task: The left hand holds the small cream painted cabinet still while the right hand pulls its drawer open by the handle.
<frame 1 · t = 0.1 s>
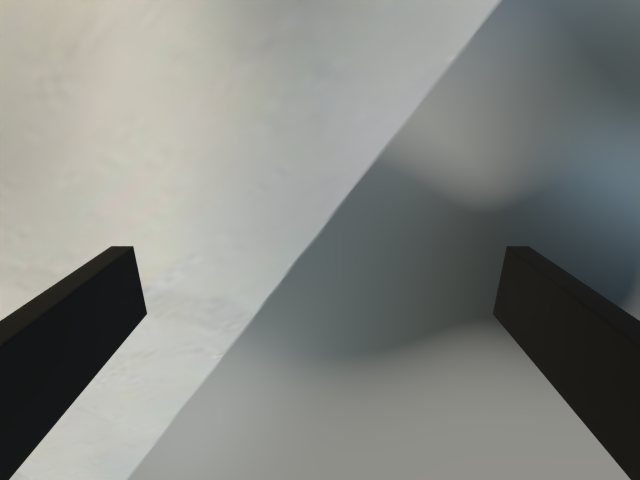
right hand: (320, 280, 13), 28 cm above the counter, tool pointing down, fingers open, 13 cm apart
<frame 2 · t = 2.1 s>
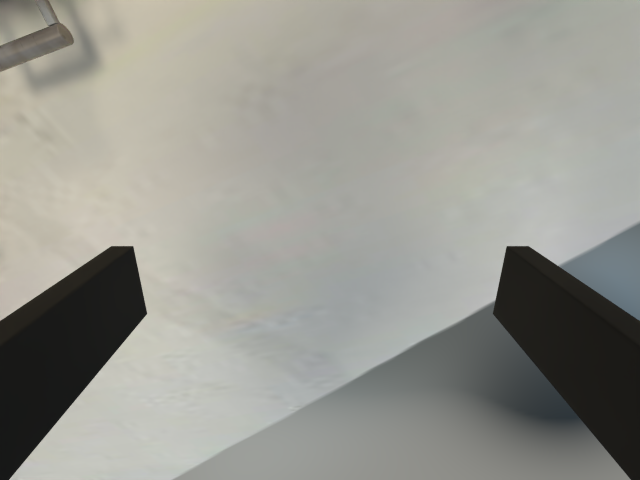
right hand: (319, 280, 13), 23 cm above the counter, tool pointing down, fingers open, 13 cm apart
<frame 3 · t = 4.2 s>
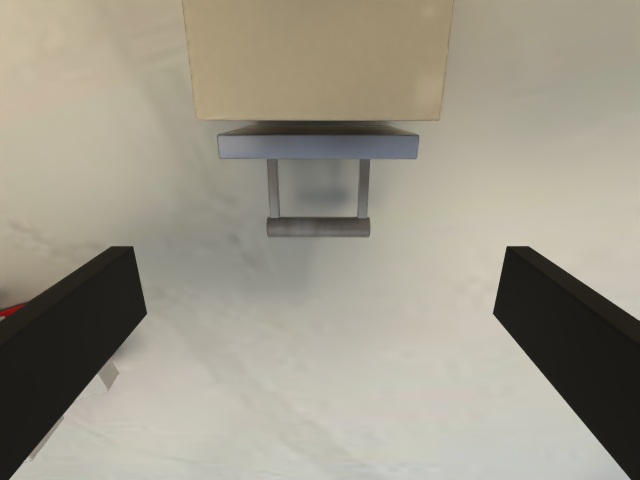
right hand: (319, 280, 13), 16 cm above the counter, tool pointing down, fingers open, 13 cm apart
drawer: (318, 27, 19), point 5 cm above the counter, slide at 0.7 cm
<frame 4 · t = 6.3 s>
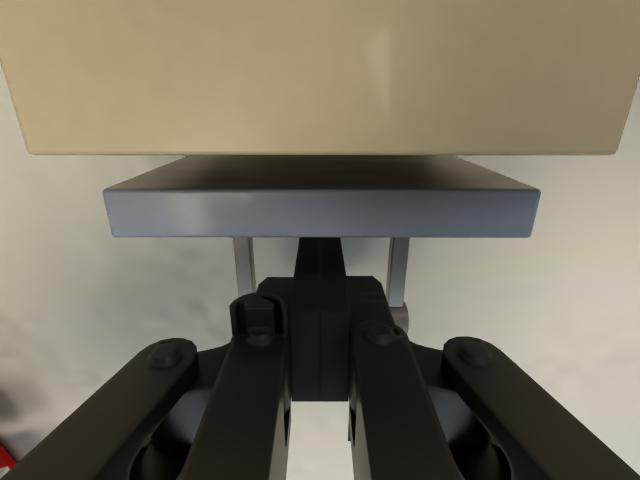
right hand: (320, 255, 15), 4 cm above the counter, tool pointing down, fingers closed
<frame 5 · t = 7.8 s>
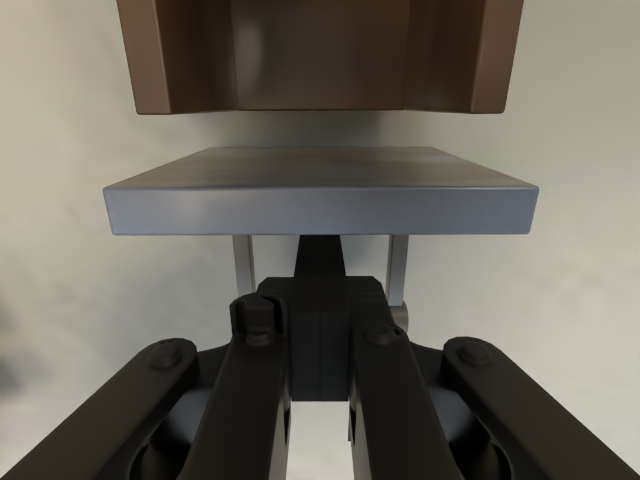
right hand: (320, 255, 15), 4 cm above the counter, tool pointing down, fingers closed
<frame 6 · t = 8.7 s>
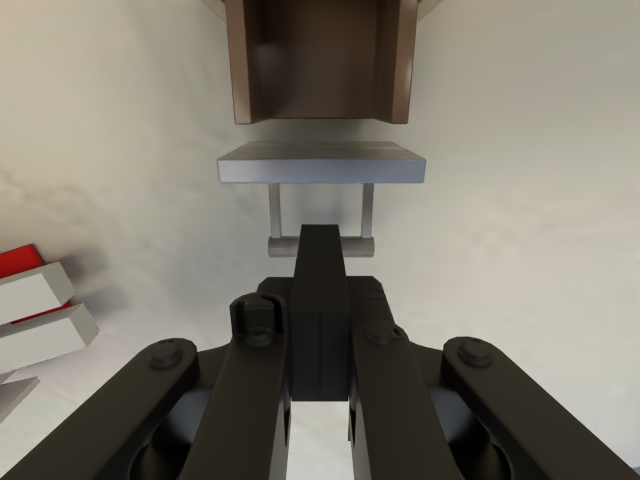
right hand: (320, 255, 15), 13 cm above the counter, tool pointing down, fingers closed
drawer: (321, 45, 19), point 5 cm above the counter, slide at 6.9 cm
when the left hand's fingers open (6 cm above the counter, at t = 9.5 s): cabinet stays where it is, on the counter.
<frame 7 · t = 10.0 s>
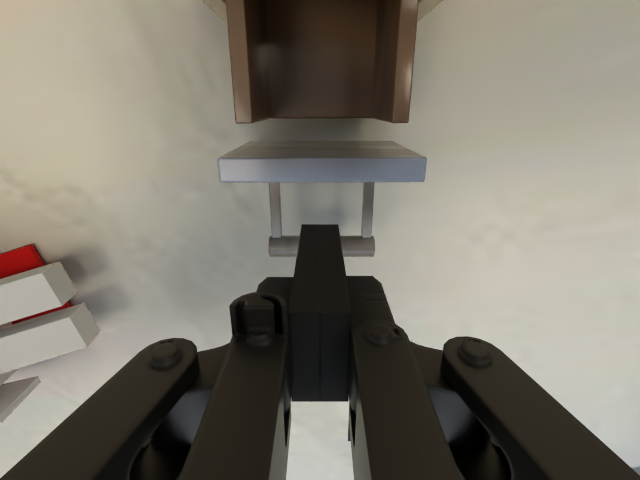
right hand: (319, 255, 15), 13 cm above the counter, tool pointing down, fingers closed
drawer: (321, 44, 19), point 5 cm above the counter, slide at 6.9 cm
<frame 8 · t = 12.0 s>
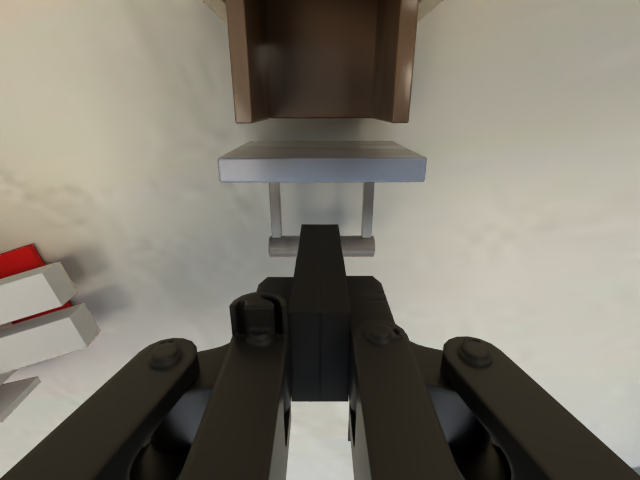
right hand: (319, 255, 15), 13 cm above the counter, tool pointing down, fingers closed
drawer: (321, 44, 19), point 5 cm above the counter, slide at 6.9 cm
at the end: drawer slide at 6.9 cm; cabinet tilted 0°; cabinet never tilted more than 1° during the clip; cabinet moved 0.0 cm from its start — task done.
